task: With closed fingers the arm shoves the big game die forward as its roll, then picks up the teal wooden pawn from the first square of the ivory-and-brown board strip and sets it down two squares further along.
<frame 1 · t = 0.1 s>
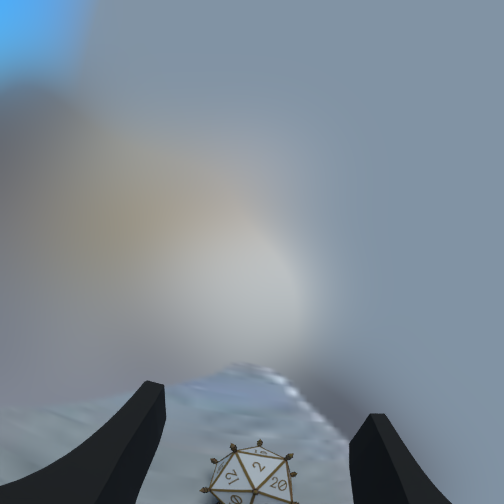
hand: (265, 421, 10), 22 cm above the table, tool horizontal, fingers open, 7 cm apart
game die: (245, 499, 23), on the table
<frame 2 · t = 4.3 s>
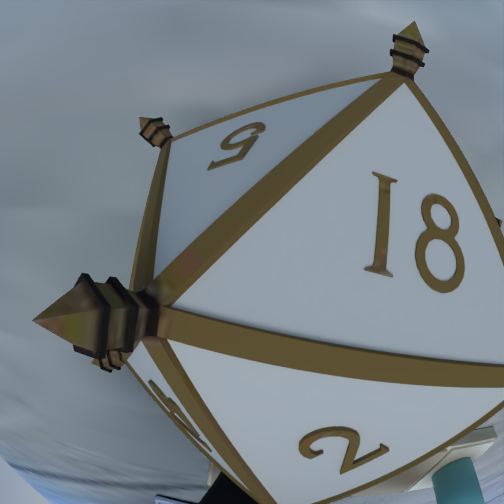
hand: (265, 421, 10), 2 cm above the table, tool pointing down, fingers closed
game die: (304, 226, 10), on the table, touching gripper
pawn: (451, 469, 13), point 1 cm above the table, touching board
board: (363, 464, 15), on the table
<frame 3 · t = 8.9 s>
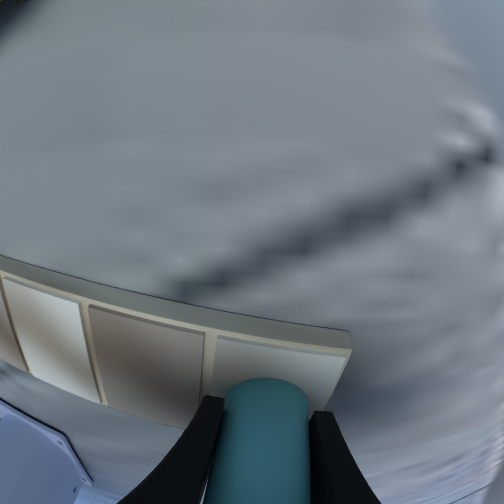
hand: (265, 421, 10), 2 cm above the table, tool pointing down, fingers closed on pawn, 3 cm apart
pawn: (266, 405, 10), point 1 cm above the table, touching board, gripper
board: (106, 345, 12), on the table
when the fingers open (3 cm above the table, at t = 11.7 s): pawn stays where it is, resting on board.
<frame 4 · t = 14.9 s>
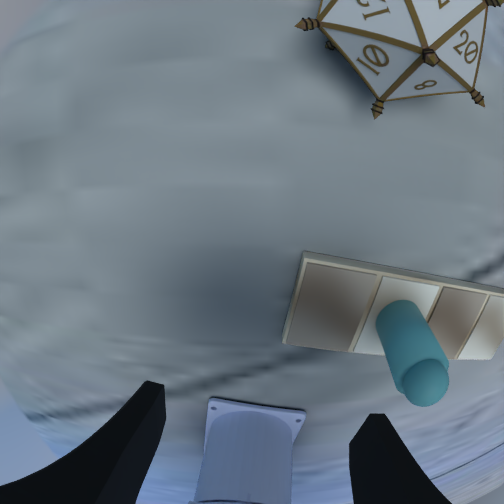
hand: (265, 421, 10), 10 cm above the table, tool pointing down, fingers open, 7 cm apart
game die: (376, 40, 13), on the table
pawn: (398, 320, 18), point 1 cm above the table, touching board
board: (419, 314, 19), on the table
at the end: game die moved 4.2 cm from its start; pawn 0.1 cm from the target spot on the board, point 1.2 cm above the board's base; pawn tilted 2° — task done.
